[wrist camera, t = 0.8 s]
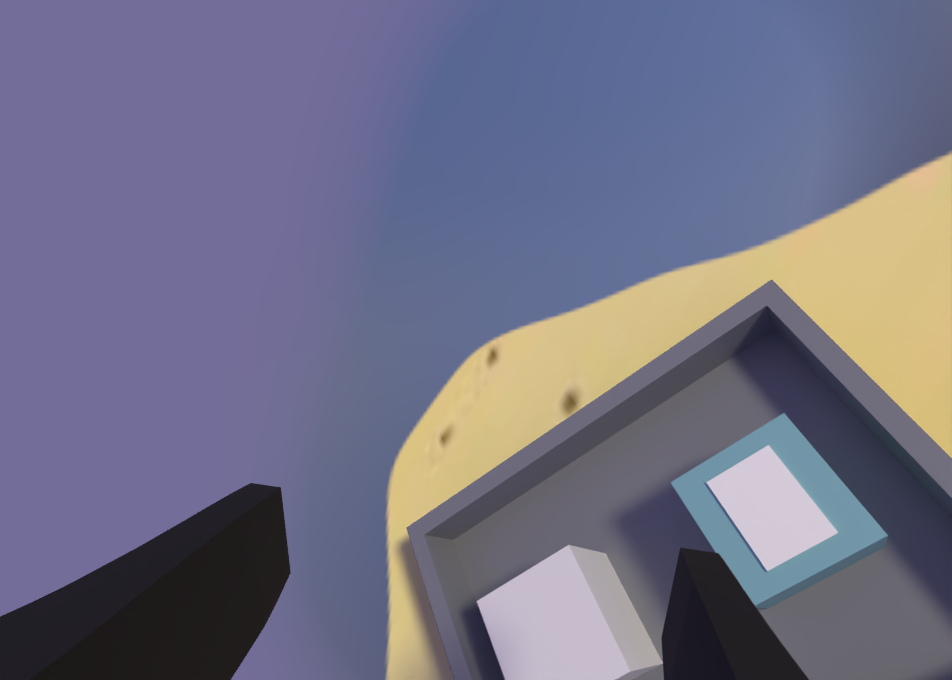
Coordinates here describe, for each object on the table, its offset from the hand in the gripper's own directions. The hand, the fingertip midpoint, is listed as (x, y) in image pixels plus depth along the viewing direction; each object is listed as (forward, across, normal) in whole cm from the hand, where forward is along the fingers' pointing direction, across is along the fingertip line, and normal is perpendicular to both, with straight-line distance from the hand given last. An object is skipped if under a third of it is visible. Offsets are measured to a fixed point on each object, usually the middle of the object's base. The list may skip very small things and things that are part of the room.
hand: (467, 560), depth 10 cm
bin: (+11, -7, +10) cm, 17 cm away
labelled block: (+12, -10, +7) cm, 17 cm away
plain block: (+10, -3, +13) cm, 17 cm away
